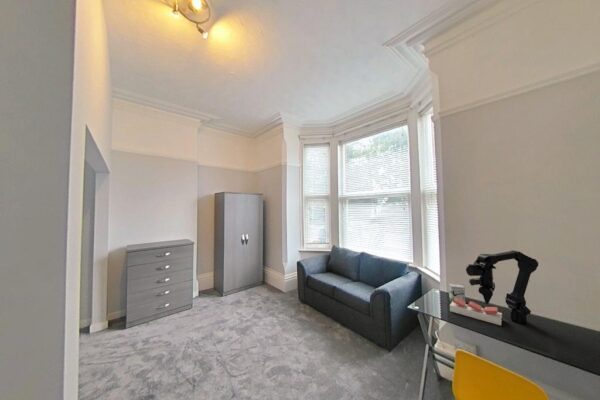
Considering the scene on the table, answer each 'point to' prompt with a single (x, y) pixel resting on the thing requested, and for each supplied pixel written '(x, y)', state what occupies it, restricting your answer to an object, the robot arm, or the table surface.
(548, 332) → the table surface
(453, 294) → the ink box
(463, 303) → the rocker
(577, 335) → the table surface
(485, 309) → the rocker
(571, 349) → the table surface
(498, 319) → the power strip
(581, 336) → the table surface
